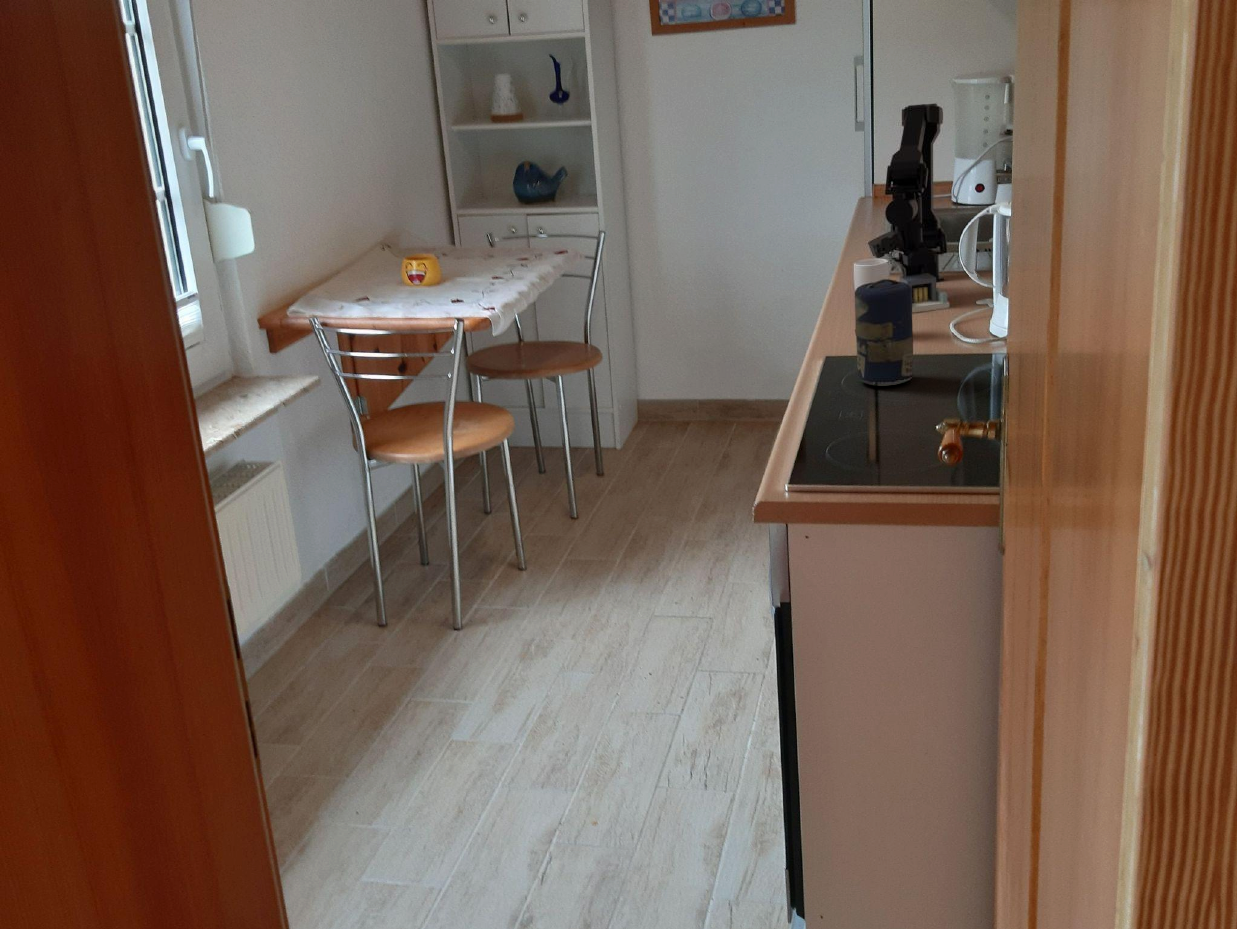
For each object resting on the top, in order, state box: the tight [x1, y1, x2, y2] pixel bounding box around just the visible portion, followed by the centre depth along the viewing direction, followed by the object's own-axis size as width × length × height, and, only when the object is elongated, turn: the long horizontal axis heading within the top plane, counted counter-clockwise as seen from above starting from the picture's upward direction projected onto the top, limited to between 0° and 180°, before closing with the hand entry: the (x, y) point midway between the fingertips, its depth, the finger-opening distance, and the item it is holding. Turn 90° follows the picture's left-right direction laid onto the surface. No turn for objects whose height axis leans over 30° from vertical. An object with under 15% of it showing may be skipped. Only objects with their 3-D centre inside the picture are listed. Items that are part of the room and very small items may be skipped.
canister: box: [854, 278, 915, 383], centre depth 204 cm, size 10×10×18 cm
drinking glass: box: [853, 258, 891, 292], centre depth 234 cm, size 7×7×15 cm
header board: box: [912, 287, 950, 314], centre depth 260 cm, size 18×11×4 cm, turn 5°
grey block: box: [899, 273, 937, 301], centre depth 256 cm, size 6×6×5 cm
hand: (910, 290), depth 261 cm, fingers closed
